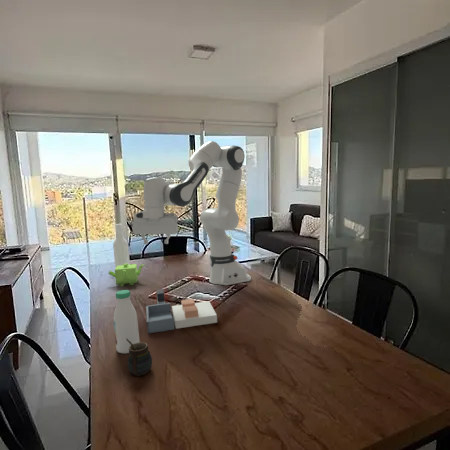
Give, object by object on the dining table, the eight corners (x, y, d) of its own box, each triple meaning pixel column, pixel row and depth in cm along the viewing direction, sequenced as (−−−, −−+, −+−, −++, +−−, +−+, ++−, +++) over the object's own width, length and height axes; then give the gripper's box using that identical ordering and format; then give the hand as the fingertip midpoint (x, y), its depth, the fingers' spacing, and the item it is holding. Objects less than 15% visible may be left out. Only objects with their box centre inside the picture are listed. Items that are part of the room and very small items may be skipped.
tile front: (196, 311, 139) (195, 305, 139) (198, 316, 134) (197, 310, 134) (183, 313, 138) (183, 307, 138) (185, 318, 133) (184, 311, 133)
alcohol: (112, 272, 218) (108, 224, 213) (124, 268, 225) (119, 222, 221) (122, 273, 213) (117, 225, 208) (133, 270, 220) (128, 223, 216)
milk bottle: (144, 345, 120) (139, 289, 117) (129, 355, 113) (123, 296, 110) (127, 341, 123) (121, 287, 120) (111, 352, 116) (105, 294, 113)
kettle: (146, 281, 194) (145, 262, 192) (127, 289, 182) (125, 268, 181) (128, 278, 202) (126, 259, 201) (108, 285, 190) (106, 265, 189)
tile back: (193, 304, 147) (193, 298, 147) (195, 308, 142) (194, 302, 142) (181, 306, 146) (181, 300, 146) (183, 310, 141) (182, 304, 141)
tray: (170, 312, 147) (169, 302, 147) (174, 329, 131) (173, 318, 130) (147, 316, 145) (146, 305, 144) (147, 333, 129) (146, 322, 128)
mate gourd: (147, 379, 99) (144, 346, 98) (123, 378, 101) (119, 345, 99) (157, 365, 106) (153, 334, 105) (133, 364, 108) (130, 334, 106)
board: (209, 307, 150) (209, 301, 150) (217, 322, 135) (216, 315, 135) (172, 312, 147) (171, 306, 146) (175, 328, 131) (175, 321, 131)
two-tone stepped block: (163, 300, 163) (162, 286, 162) (165, 311, 149) (164, 296, 148) (157, 301, 162) (156, 287, 161) (158, 312, 149) (157, 296, 148)
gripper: (178, 212, 159) (180, 242, 160) (135, 213, 160) (136, 242, 162) (175, 213, 153) (177, 244, 154) (130, 214, 154) (132, 245, 156)
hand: (156, 243), depth 158 cm, fingers open, 8 cm apart
